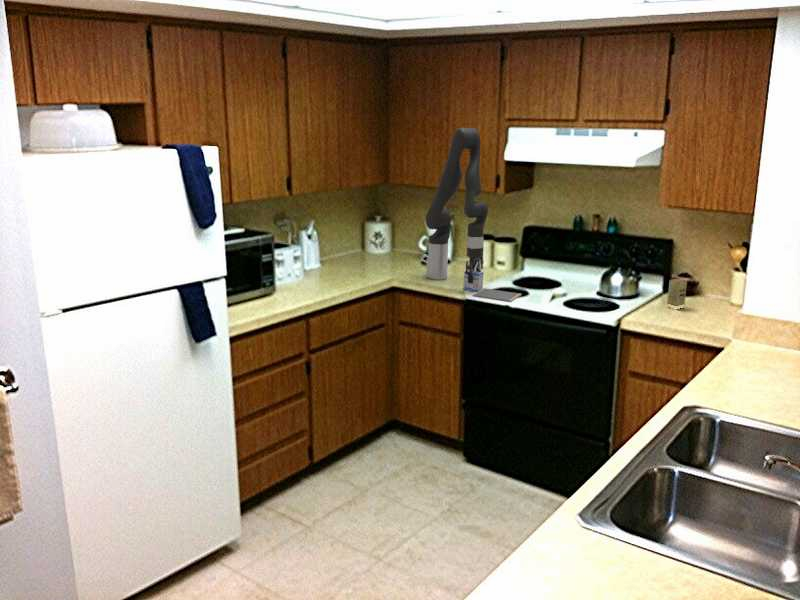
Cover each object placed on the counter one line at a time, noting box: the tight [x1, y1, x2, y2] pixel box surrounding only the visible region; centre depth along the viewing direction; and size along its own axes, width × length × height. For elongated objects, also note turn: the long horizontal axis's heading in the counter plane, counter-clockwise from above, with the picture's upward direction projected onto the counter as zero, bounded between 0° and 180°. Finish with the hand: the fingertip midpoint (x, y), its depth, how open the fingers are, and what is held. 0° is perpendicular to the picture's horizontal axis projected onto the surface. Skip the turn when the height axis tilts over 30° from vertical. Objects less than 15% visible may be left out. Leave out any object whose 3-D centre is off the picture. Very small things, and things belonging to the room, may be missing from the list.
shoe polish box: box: [666, 278, 688, 306], centre depth 318 cm, size 5×5×12 cm
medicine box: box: [463, 270, 484, 293], centre depth 342 cm, size 8×4×9 cm, turn 62°
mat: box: [472, 287, 522, 303], centre depth 335 cm, size 18×13×1 cm
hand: (474, 281), depth 342 cm, fingers open, 8 cm apart
